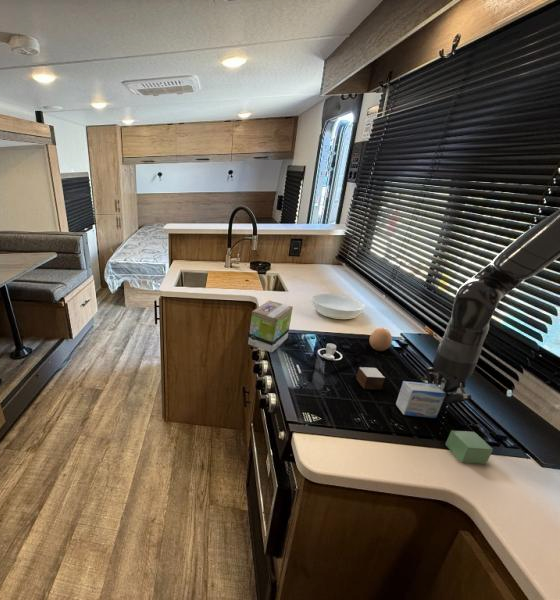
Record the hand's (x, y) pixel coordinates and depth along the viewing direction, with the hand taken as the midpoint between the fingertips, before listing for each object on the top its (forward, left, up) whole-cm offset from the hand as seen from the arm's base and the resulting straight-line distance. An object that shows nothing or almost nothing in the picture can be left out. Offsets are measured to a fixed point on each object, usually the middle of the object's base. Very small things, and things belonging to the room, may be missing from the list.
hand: (436, 408), depth 83 cm
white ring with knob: (+20, -28, -2) cm, 34 cm away
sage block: (+3, +14, -2) cm, 14 cm away
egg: (-2, -33, -2) cm, 33 cm away
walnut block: (+12, -11, -2) cm, 16 cm away
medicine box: (+5, 0, -2) cm, 5 cm away
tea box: (+37, -36, -2) cm, 52 cm away
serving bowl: (+1, -64, -2) cm, 64 cm away
